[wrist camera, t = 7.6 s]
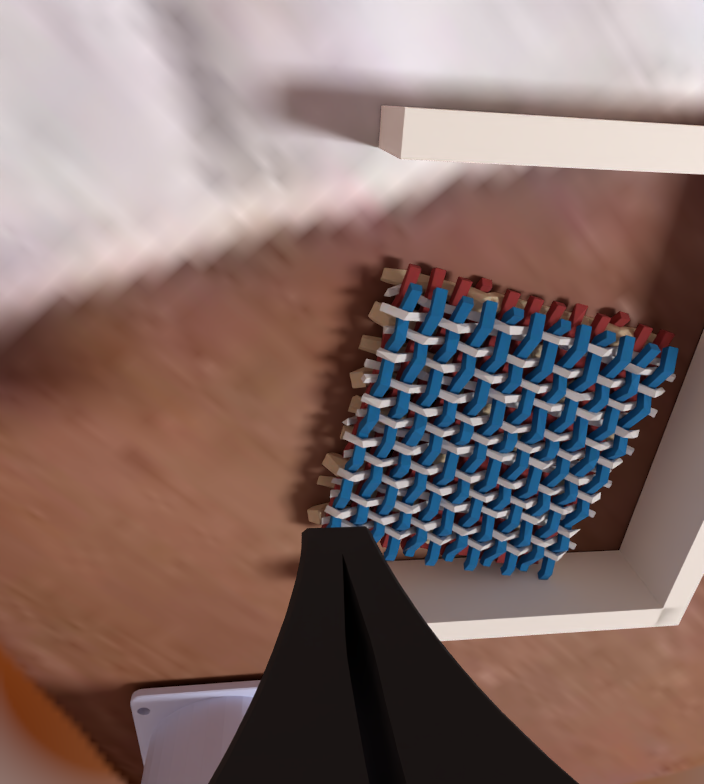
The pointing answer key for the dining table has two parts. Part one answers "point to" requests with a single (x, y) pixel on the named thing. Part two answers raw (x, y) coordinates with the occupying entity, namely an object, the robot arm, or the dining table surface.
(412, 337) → the woven mat
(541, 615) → the frame
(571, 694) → the dining table surface
